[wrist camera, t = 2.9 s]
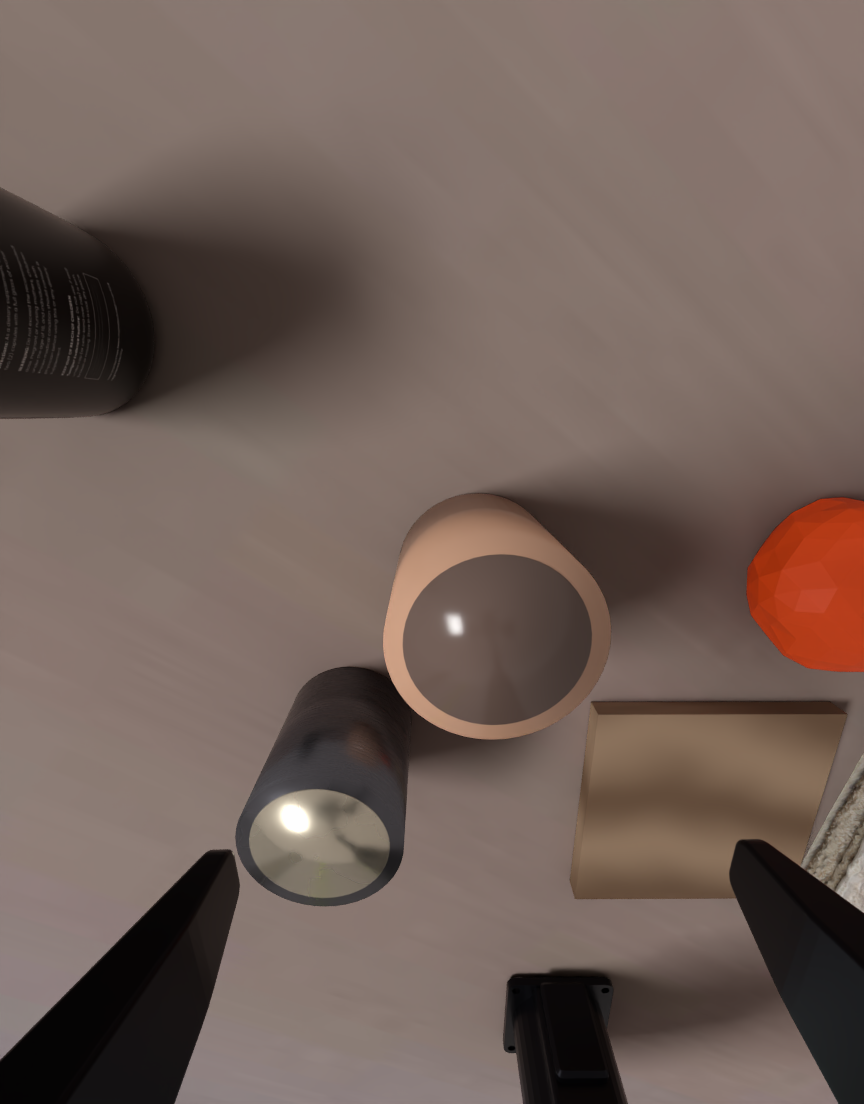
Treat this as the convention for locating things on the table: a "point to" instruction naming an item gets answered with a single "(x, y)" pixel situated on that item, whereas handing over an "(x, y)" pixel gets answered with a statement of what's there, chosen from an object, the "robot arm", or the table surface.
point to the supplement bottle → (66, 319)
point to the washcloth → (842, 843)
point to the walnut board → (695, 792)
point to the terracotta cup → (492, 621)
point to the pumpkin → (813, 585)
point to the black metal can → (331, 793)
